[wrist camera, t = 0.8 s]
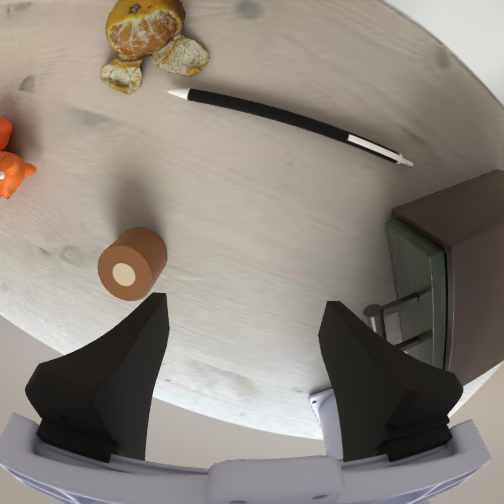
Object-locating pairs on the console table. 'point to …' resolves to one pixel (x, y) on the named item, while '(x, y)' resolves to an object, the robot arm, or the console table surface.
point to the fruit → (149, 42)
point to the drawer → (416, 295)
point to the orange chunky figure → (11, 163)
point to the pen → (290, 121)
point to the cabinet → (468, 267)
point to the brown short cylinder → (132, 264)
